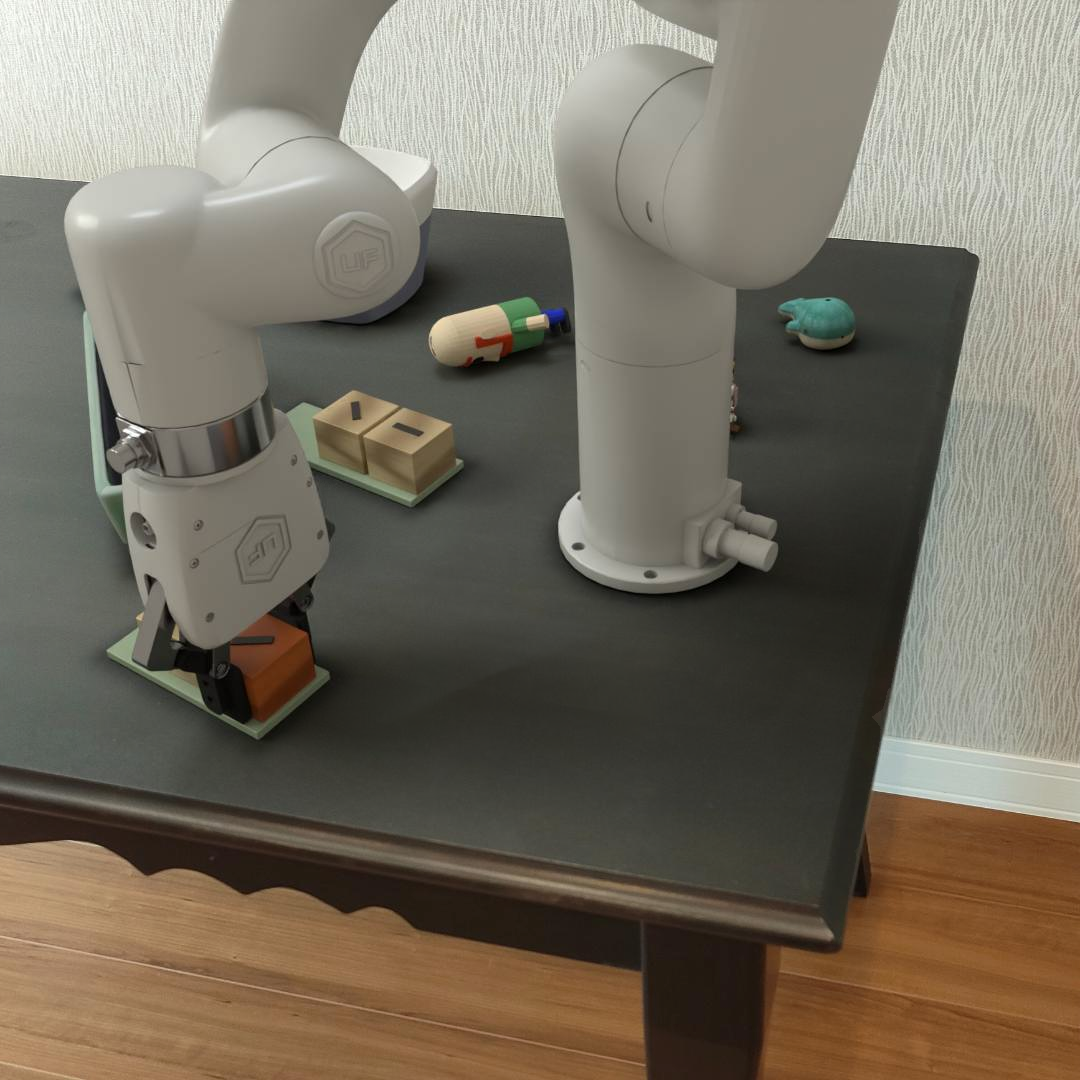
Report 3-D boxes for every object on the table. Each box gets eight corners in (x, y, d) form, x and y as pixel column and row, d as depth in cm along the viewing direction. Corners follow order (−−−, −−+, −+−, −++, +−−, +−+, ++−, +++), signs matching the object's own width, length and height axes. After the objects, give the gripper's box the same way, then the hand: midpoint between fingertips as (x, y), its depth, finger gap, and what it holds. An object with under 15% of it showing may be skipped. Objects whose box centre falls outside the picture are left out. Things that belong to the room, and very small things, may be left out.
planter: (103, 387, 106) (80, 307, 101) (192, 370, 107) (173, 291, 103) (122, 585, 84) (94, 495, 80) (231, 560, 86) (210, 471, 82)
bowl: (330, 247, 125) (313, 135, 119) (468, 273, 120) (458, 156, 113) (234, 316, 115) (209, 197, 108) (379, 348, 109) (363, 224, 102)
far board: (464, 467, 94) (463, 460, 93) (411, 508, 90) (411, 501, 90) (304, 408, 101) (303, 401, 101) (250, 443, 98) (248, 437, 97)
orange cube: (317, 677, 76) (307, 631, 74) (262, 723, 73) (251, 677, 71) (262, 649, 78) (252, 604, 76) (207, 693, 75) (195, 648, 73)
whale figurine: (810, 362, 104) (814, 319, 101) (760, 324, 109) (763, 283, 107) (869, 344, 105) (875, 302, 103) (818, 308, 111) (822, 268, 109)
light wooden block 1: (404, 445, 95) (399, 404, 93) (364, 475, 92) (358, 433, 90) (359, 429, 97) (353, 388, 95) (318, 457, 95) (311, 415, 92)
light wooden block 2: (456, 465, 93) (452, 422, 91) (417, 495, 90) (411, 452, 88) (409, 447, 95) (403, 405, 93) (368, 476, 92) (362, 434, 90)
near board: (330, 678, 76) (329, 671, 76) (258, 740, 73) (256, 733, 72) (181, 603, 83) (179, 596, 82) (108, 657, 79) (105, 650, 79)
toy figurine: (543, 345, 112) (419, 377, 107) (532, 293, 111) (406, 323, 106) (589, 341, 105) (458, 375, 100) (578, 286, 104) (445, 318, 99)
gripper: (115, 530, 57) (199, 805, 68) (366, 367, 68) (404, 627, 79) (11, 480, 61) (107, 749, 72) (265, 333, 72) (314, 586, 83)
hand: (262, 683), depth 75 cm, fingers closed on near board, tile s, 4 cm apart
